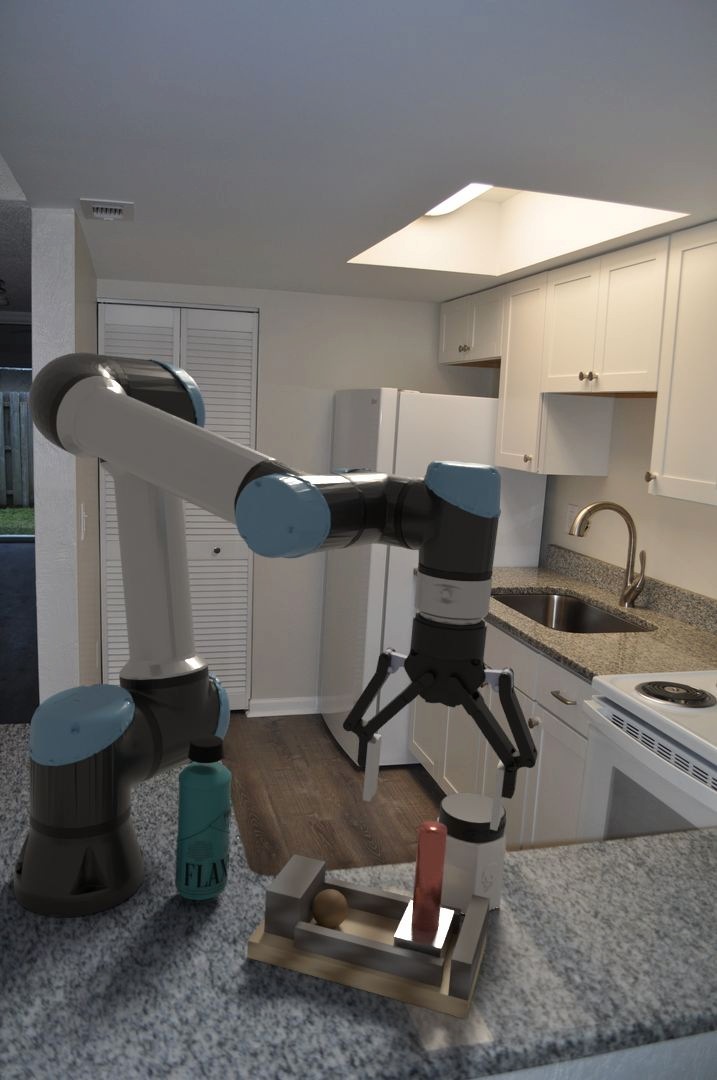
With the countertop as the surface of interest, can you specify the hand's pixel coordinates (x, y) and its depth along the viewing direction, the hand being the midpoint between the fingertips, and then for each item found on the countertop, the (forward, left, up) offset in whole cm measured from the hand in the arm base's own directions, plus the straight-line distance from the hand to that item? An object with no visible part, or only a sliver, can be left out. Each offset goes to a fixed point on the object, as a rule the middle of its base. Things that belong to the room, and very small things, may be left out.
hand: (431, 809), depth 86 cm
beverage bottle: (-28, +2, -18) cm, 33 cm away
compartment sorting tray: (-6, 0, -18) cm, 19 cm away
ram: (0, 0, -16) cm, 16 cm away
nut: (-10, 0, -16) cm, 19 cm away
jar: (+2, +15, -18) cm, 24 cm away
